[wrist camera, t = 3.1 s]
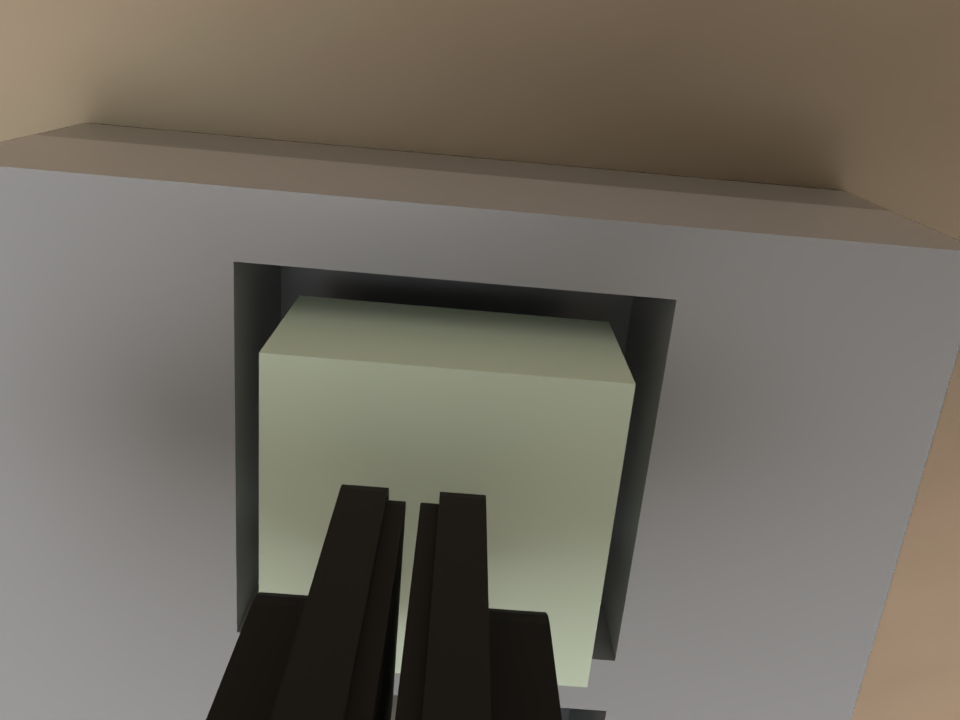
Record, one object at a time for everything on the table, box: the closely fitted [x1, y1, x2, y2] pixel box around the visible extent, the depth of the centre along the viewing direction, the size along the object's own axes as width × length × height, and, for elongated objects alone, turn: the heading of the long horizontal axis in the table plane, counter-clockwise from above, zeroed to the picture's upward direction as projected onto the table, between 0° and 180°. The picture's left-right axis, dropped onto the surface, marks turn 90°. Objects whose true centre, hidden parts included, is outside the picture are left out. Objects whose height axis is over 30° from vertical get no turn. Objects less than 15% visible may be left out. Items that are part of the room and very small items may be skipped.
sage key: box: [259, 296, 636, 687], centre depth 13 cm, size 5×5×2 cm
